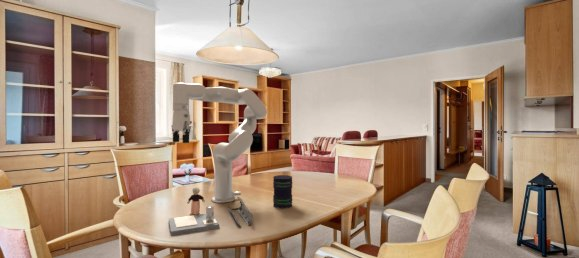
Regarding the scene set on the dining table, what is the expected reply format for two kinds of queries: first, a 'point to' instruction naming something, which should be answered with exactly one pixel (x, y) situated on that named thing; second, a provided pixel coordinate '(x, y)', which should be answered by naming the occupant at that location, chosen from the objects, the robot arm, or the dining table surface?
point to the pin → (209, 214)
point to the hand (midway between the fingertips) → (180, 142)
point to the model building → (243, 212)
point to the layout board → (191, 224)
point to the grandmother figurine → (195, 201)
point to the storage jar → (282, 191)
